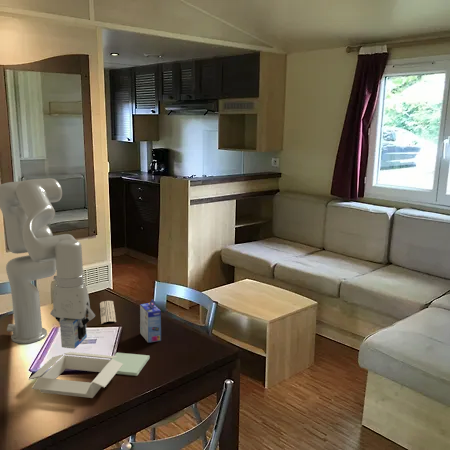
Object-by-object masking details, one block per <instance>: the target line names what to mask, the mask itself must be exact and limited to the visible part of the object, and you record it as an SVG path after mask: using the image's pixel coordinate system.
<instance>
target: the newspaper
mask: <svg viewBox="0 0 450 450" xmlns="http://www.w3.org/2000/svg"><path fill="white" fill-rule="evenodd" d="M99 310H100V322H101V323H100V325H103V324H104V323H107V322H114V323H116V324H117V318H116V312H115V306H114V301H113V300H104V301H101V302H100V303H99Z"/></svg>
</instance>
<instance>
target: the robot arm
mask: <svg viewBox="0 0 450 450" xmlns="http://www.w3.org/2000/svg"><path fill="white" fill-rule="evenodd" d="M62 197H63V188H62V186H61V184H60V183H59V181H58V180H57V179H55V178H51V177H48V178H36V179H34V178H33V179H26V180H19V181H9V182H5V183H2V184H0V211H1V213H2V215H3V218H4V224H5V225H4V226H5V227H4V228H5V232H6V233H5V234H6V241H7V242H6V243H7V247H8V250H9V251H10V252H11V253H12V254H17V255H18V254H26V253H28V255H23V256H17V257H14V258H12V259H10V260H9V261H8V262H7V264H6V266H5V268H6V269H5V271H6V275H7V278H8V283H9V286H10V291H11V301H12V302H11V303H12V311H13V321H14V323H9V324H7V328H6V331H7V332H12V334H11V337H10V338H11V341H12V342H13V343H15V344H31V343H35V342H38V341H40V340H43V339H44V338H45V337H46V336H47V335H48V331H47V329H46V328H43V324H42V321H43V320H42V311H41V301H40V291H39V289H38V288H37V287H36V286H35V285H34V284H33V283H32V282H33V281H36V280H37V281H38V280H41V279H47V278H49V277H52V276H53V277H52V278H53V281H56V284H55V285H54V290H53V297H52V299H53V300H52V301H53V302H52V310H51V311H50V315H51V317H53V318H55V319H56V321H57V322H58V324H59V325H60V322H61V321H62V320H63V319H64V318H67V319H78V323H79V327H78V338H79V339H82V338H83V337H84V336H85V335H86V333H87V324H88V323H89V322H90V321H91V320H93V319H94V318H95V317H96V313H94V311H93V310H92V309H91V305H90V298H89V297H90V296H89V292H88V291H89V290H88V288H87V285H86V283H84V269H83V268H84V267H83V265H84V264H83V249H82V248H83V247H82V243H81V241H79V240H77V239H76V238H75V237H74V236H73V235H72V234H69V233H64V234H63V233H62V234H56V235H53V232H52V229H50V227H49V226H48V224H50V223H51V222H52V221H53V219H54V218H55V216H56V210H55V209H54V207H53V205H52V203H57V202H60V200H61V199H62ZM55 274H56V275H55ZM86 315H87V316H86Z"/></svg>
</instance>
